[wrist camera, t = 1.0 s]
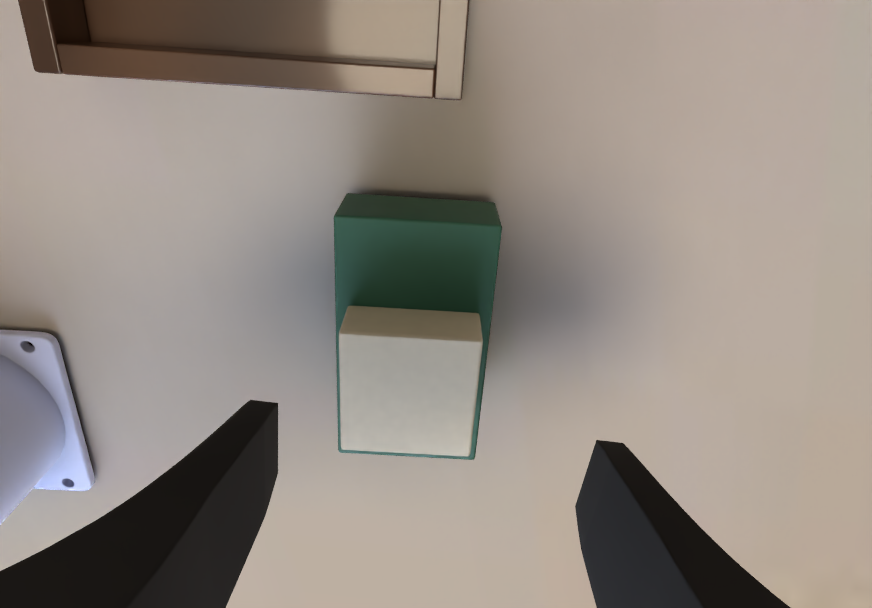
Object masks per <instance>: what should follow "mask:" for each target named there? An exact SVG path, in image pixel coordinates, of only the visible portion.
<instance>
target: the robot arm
mask: <svg viewBox="0 0 872 608" xmlns="http://www.w3.org/2000/svg"><path fill="white" fill-rule="evenodd" d="M27 341H28V342H30V343H32V344H33V346H34V347H32V346H31V345H29V343H28V342H27ZM277 474H278V403H272V402H263V401H255V400H250V401H248V402H247V403H246V404H245V405H243V406H242V407H241V408H240V409H239V410H238V411H237V412H236V413H235V414H234V415H233V416H231V417H230V418H229V419H228V420H227V421H226V422H225V423H224V424H223V425H222V426H220V427H219V428H218V429H217V430H216V431H215V432H214V433H213V434H211V435H210V436H209V437H208V438H207V439H206V440H205V441H203V442H202V443H201V444H200V445H199V446H197V447H196V448H195V449H194V450H193V451H192V452H190V453H189V454H188V455H187V456H186V457H184V458H183V459H182V460H181V461H179V462H178V463H177V464H176V465H174V466H173V467H172V468H170V469H169V470H168V471H167V472H165V473H164V474H163V475H161V476H160V477H159V478H157V479H156V480H155V481H153V482H152V483H151V484H150V485H148V486H147V487H145V488H144V489H143V490H141V491H140V492H138V493H137V494H136V495H134V496H133V497H131V498H130V499H128V500H127V501H125V502H124V503H122V504H121V505H119V506H118V507H116V508H115V509H113V510H112V511H110V512H109V513H107V514H106V515H104V516H102V517H101V518H99V519H98V520H96V521H94V522H92V523H91V524H89V525H87V526H85V527H84V528H82V529H80V530H78V531H76V532H75V533H73V534H71V535H69V536H68V537H66V538H64V539H62V540H60V541H59V542H57V543H55V544H53V545H52V546H50V547H48V548H46V549H44V550H42V551H40V552H38V553H36V554H34V555H32V556H30V557H28V558H26V559H24V560H22V561H20V562H18V563H16V564H14V565H12V566H10V567H8V568H6V569H4V570H2V571H0V608H226V605H227V603H228V601H229V598H230V596H231V594H232V592H233V589H234V587H235V585H236V582H237V580H238V578H239V575H240V573H241V571H242V568H243V566H244V564H245V562H246V559H247V557H248V555H249V552H250V550H251V548H252V545H253V543H254V541H255V538H256V536H257V534H258V531H259V529H260V527H261V524H262V522H263V520H264V517H265V515H266V511H267V508H268V505H269V502H270V498H271V495H272V491H273V488H274V485H275V481H276V478H277ZM70 479H71V480H70ZM94 483H95V476H94V472H93V469H92V465H91V461H90V458H89V454H88V450H87V446H86V443H85V439H84V435H83V432H82V428H81V424H80V420H79V417H78V413H77V409H76V406H75V402H74V398H73V394H72V391H71V387H70V383H69V380H68V376H67V372H66V368H65V365H64V361H63V357H62V353H61V350H60V346H59V343H58V341H57V339H56V338H55V337H54V336H53V335H51V334H49V333H45V332H35V331H17V330H0V525H1V524H2V523H3V521H4V520H5V519H6V518H7V517H8V516H9V515H10V513H11V512H12V511H13V510H14V509H15V508H16V507H17V506H18V504H19V503H20V502H21V501H22V500H23V499H24V498H25V496H26V495H27V494H28V493H29V492H30V491H31V490H32V489H33V488H34V489H52V490H71V491H87V490H89V489H90V488H91V487H92V485H93V484H94ZM575 507H576V515H577V523H578V531H579V537H580V544H581V550H582V554H583V558H584V562H585V566H586V569H587V573H588V577H589V580H590V584H591V588H592V591H593V595H594V599H595V602H596V606H597V608H790V607H789V606H788V605H786V604H785V603H784V602H783V601H781V600H780V599H779V598H778V597H776V596H775V595H774V594H773V593H771V592H770V591H769V590H768V589H767V588H765V587H764V586H763V585H762V584H761V583H760V582H759V581H757V580H756V579H755V578H754V577H753V576H752V575H750V574H749V573H748V572H747V571H746V570H745V569H743V568H742V567H741V566H740V565H739V564H738V563H737V562H736V561H735V560H733V559H732V558H731V557H730V556H729V555H728V554H727V553H726V552H725V551H724V550H723V549H722V548H721V547H720V546H719V545H718V544H717V543H716V542H715V541H714V540H713V539H712V538H711V537H709V536H708V535H707V534H706V533H705V532H704V531H703V530H702V529H701V528H700V527H699V526H698V525H697V523H696V522H695V521H694V520H693V519H692V518H691V517H690V516H689V515H688V514H687V513H686V512H685V511H684V510H683V509H682V508H681V507H680V506H679V505H678V503H677V502H676V501H675V500H674V499H673V498H672V497H671V496H670V495H669V494H668V493H667V491H666V490H665V489H664V488H663V487H662V486H661V485H660V484H659V482H658V481H657V480H656V479H655V478H654V477H653V476H652V475H651V473H650V472H649V471H648V470H647V469H646V468H645V467H644V466H643V464H642V463H641V462H640V461H639V460H638V459H637V458H636V456H635V455H634V454H633V453H632V452H631V451H630V450H629V449H628V448H627V447H626V446H625V445H624V444H623V443H618V442H609V441H600V440H597V441H596V444H595V447H594V450H593V453H592V456H591V459H590V462H589V465H588V469H587V472H586V475H585V478H584V481H583V484H582V487H581V490H580V493H579V497H578V500H577V503H576V506H575Z"/></svg>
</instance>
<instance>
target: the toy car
mask: <svg viewBox="0 0 872 608" xmlns="http://www.w3.org/2000/svg"><path fill="white" fill-rule="evenodd" d="M501 232H502V226H501V222H500V219H499V215H498V212H497V208H496V205H495V203H493V202H479V201H463V200H447V199H431V198H415V197H399V196H383V195H367V194H351V193H348V194H346V196H345V198H344V200H343V201H342V203H341V205H340V207H339V208H338V210H337V212H336V214H335V216H334V250H335V301H336V353H337V405H338V450H339V452H341V453H359V454H378V455H396V456H414V457H432V458H450V459H468V460H473V459H474V458H475V453H476V445H477V436H478V428H479V419H480V411H481V402H482V394H483V385H484V377H485V368H486V360H487V351H488V343H489V334H490V325H491V317H492V308H493V300H494V291H495V283H496V274H497V266H498V257H499V249H500V240H501Z"/></svg>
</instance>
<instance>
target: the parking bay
mask: <svg viewBox="0 0 872 608" xmlns="http://www.w3.org/2000/svg"><path fill="white" fill-rule="evenodd" d="M18 2H19V6H20V11H21V15H22V19H23V23H24V28H25V32H26V36H27V41H28V45H29V49H30V53H31V58H32V62H33V66H34V70H35V71H36V72H39V73H54V74H67V75H82V76H98V77H113V78H128V79H143V80H158V81H174V82H189V83H204V84H219V85H235V86H250V87H265V88H280V89H295V90H311V91H326V92H341V93H356V94H372V95H387V96H402V97H417V98H433V97H434V98H435V99H447V100H461V99H462V90H463V77H464V64H465V51H466V38H467V25H468V12H469V0H18Z"/></svg>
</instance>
